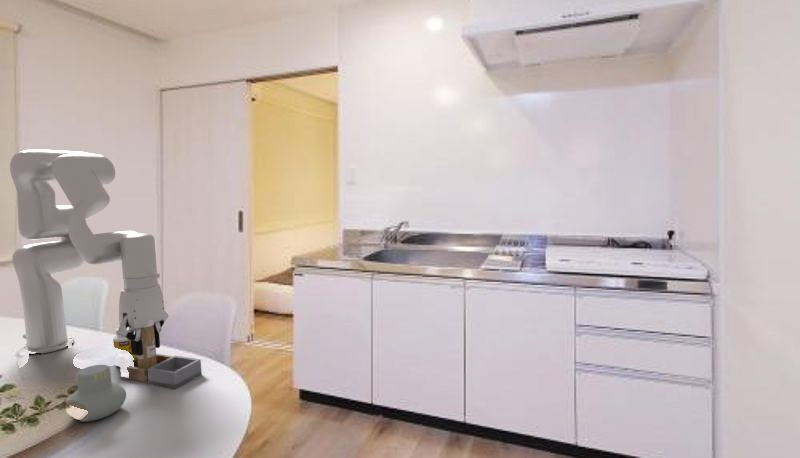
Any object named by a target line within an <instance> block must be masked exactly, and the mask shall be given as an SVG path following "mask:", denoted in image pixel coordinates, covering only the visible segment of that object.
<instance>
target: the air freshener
mask: <svg viewBox="0 0 800 458" xmlns="http://www.w3.org/2000/svg"><path fill="white" fill-rule="evenodd" d="M111 375H112V374H111V368H110V366H109V365H107V364H95V365H94V364H93V365H91V366H87V367H85V368H81V369H80V370H79V371H78V372H77V373H76V383H77V384H76V385H77V390H76V391H75V392H74V393H72V394H71V395H70V396H69V398H68V399H67V400H66V402H65V404H66V403H67V404H69V405H71V406H74V407H77V408H80V409H84V410H87V411H88V414H87V415H86V416H85V417H84V418H83V419H81V420H80V421H79V422H86V423H87V422H94V421H98V420H101V419H103V418H106V417H108V416H111V415H112V414H113V413H115V412H116V411H117V410H119V409H120V408H121V407H122V406H123V404H124V403H125V401H126V399H127V392H126V390H125V388H124V387H123V386H122V385H120V384H118V383H116V382H112V376H111Z"/></svg>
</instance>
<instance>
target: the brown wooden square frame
mask: <svg viewBox="0 0 800 458" xmlns="http://www.w3.org/2000/svg"><path fill="white" fill-rule="evenodd" d="M171 357H173V355H168V354H162V353H156V360H157V364H159V363H161V362H163V361H165V360H167V359H169V358H171ZM133 362H134V367H132V366H129V367H127V370H128V372H129V378H131V379H130V380H131V381H132V380H134V381H138V382H144V383H149V381H148V369H143V368H138V358H137V359H135V360H133Z"/></svg>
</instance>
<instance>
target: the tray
mask: <svg viewBox="0 0 800 458" xmlns="http://www.w3.org/2000/svg"><path fill="white" fill-rule="evenodd" d="M172 356H173V355H172ZM201 360H202V359H201V358H192V357H187V356H181V355H180V356H179V355H174V356H173V357H171V358H169V359H167V360H165V361H163V362H161V363H159V364H156V365H154V366H152V367H150V368H148V381H149V382H148V385H151V386H155V387H160V388H166V389H172V390H177V389H178V388H180V387H182V386H184V385H186V384H187V383H189V382H190V381H193V380H194V379H196V378H198V377H199V376H201V375H202V374H203V373H202V361H201Z"/></svg>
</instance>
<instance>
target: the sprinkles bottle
mask: <svg viewBox="0 0 800 458" xmlns="http://www.w3.org/2000/svg"><path fill="white" fill-rule="evenodd" d="M140 340H142V345H143V355H141V356H139V355H137V358H138V368H143V369H148V368H150V367H152V366H154V365H156V364H157V360H156V354H157V348H156V345H155V336H154V322H153V320H149V321H148V323H147V325H146V326H145V327H143V328H141V333H140Z"/></svg>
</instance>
